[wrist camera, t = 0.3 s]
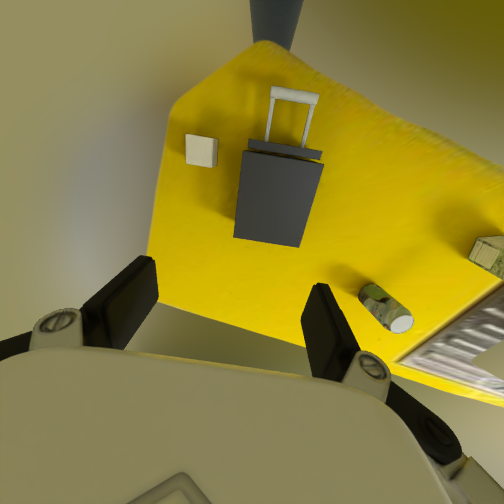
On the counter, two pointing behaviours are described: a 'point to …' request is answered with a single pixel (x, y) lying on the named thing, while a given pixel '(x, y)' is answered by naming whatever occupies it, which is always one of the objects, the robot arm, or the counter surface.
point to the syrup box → (489, 254)
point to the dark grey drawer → (312, 100)
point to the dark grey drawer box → (275, 197)
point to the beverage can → (386, 309)
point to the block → (201, 151)
